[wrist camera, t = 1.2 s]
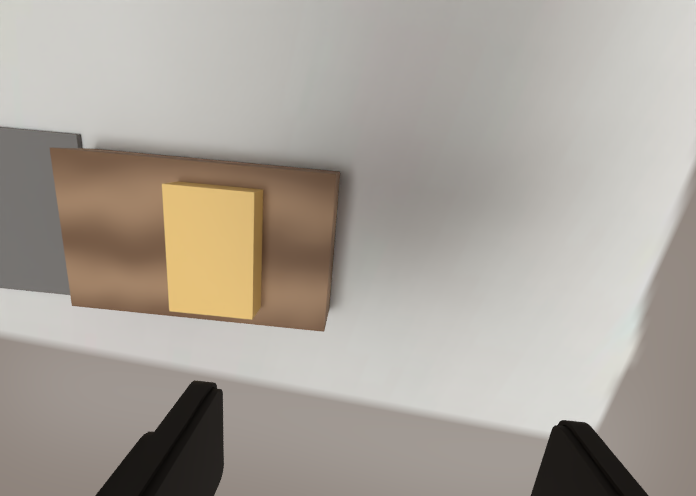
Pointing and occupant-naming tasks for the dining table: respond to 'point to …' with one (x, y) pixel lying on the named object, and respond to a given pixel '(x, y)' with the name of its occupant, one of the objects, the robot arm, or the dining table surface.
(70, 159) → the brown wooden block
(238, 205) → the yellow rectangular block
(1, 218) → the mat
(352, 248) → the dining table surface
